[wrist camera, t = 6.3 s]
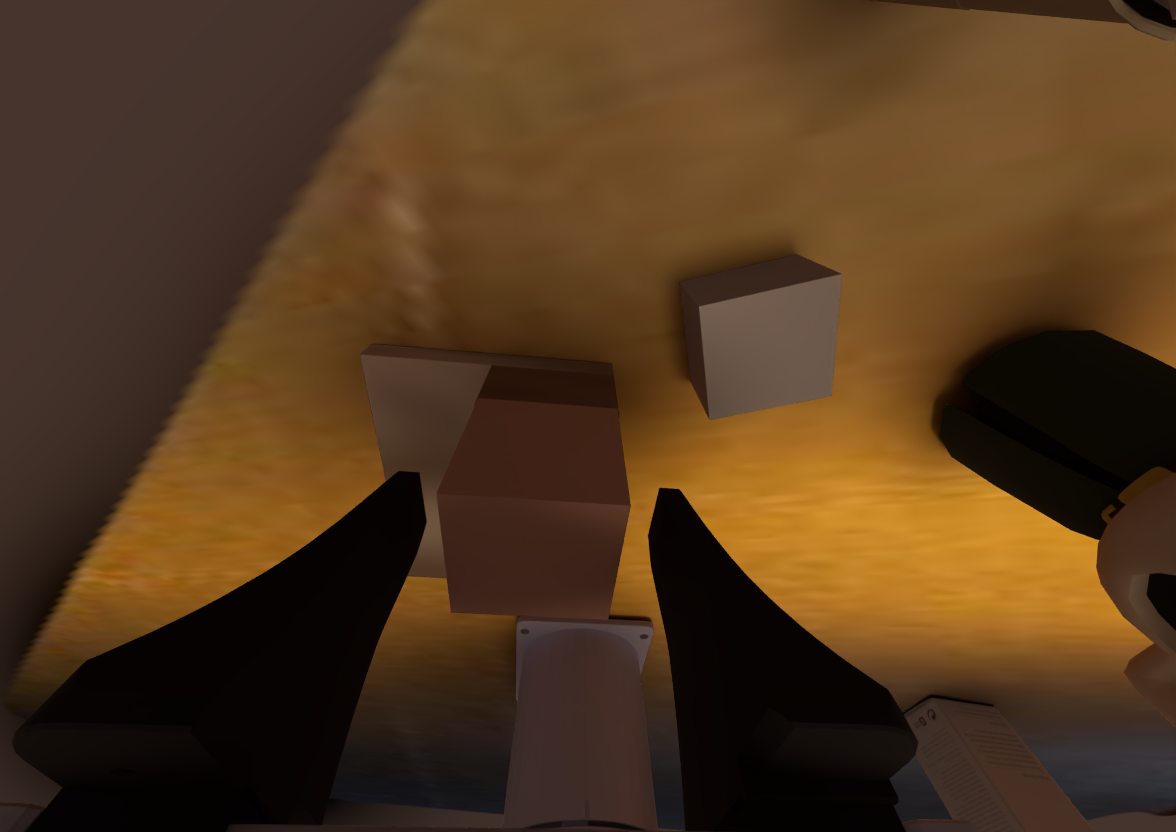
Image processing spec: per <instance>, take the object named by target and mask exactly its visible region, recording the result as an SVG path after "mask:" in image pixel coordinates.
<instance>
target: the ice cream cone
mask: <svg viewBox="0 0 1176 832" xmlns="http://www.w3.org/2000/svg"><path fill="white" fill-rule="evenodd" d="M871 1H878V2H889V3H899V4H910V5H920V6H931V7H941V8H952V9H963V10H970V9H975V10H986V11H997V12H1008V13H1019V14H1029V15H1040V16H1051V17H1062V18H1073V19H1084V20H1095V21H1106V22H1117V23H1128V24H1130V25H1131V26H1132V27H1133V28H1134V29H1136V30H1138V31H1141V32H1144V33H1146V34H1149V35H1152V36H1154V37H1157V38H1160V39H1162V40H1167V41H1176V0H871Z"/></svg>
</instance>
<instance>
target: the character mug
mask: <svg viewBox="0 0 1176 832" xmlns="http://www.w3.org/2000/svg"><path fill="white" fill-rule="evenodd" d="M962 384H963V385H965V386H967V387H968V388H970V389H972V390H973V391H975V392H977V393H978V394H980V395H982V396H983V397H985V398H986V399H985V400H984V401H983V402H981V403H980V406H979V408H978V411H977V413H976V416H975V418H973V417H971V416H970V415H968V414H966V413H964V412H963V411H961V410H959V409H957V408H955V407H954V406H952V405H950V404H948V405H947V406H946V407H945V409H944V410H943V413H942V420H941V428H940V435H939V437H940V438H941V440H942V442H943V443H944V445H945V447H946V448H947V450H948V452H949V453H950V455H951V457H953V458H954V459H956V460H957V461H959V462H960V463H962V464H963V465H965V466H966V467H968V468H969V469H971V470H972V471H974V472H975V473H977V474H978V475H980V476H981V477H983V478H984V479H986V480H987V481H989V482H990V483H992V484H993V485H995V486H997V487H998V488H1000V489H1002V490H1004V491H1005V492H1007V493H1009V494H1010V495H1012V496H1014V497H1015V498H1017V499H1019V500H1021V501H1022V502H1024V503H1026V504H1027V505H1029V506H1031V507H1033V508H1034V509H1036V510H1038V511H1039V512H1041V513H1043V514H1044V515H1046V516H1048V517H1049V518H1051V519H1053V520H1055V521H1056V522H1058V523H1060V524H1061V525H1063V526H1065V527H1066V528H1068V529H1070V530H1072V531H1075V532H1078V533H1080V534H1083V535H1086V536H1089V537H1091V538H1094V539H1097V540H1100V541H1099V543H1098V551H1097V565H1096V568H1097V572H1098V575H1099V579H1100V582H1101V585H1102V586H1103V588H1104V589H1105V591H1106V592H1107V594H1108V595H1109V597H1110V598H1111V600H1112V601H1113V603H1114V604H1115V605H1116V607H1117V608H1118V610H1119V611H1120V613H1121V614H1122V616H1123V617H1124V618H1125V619H1127V620H1128V621H1129V622H1130V623H1131V624H1132V625H1134V626H1135V627H1136V628H1137V629H1138V630H1140V631H1141V632H1142V633H1143V634H1144V635H1146V636H1147V637H1148V638H1149V639H1150V640H1151V641H1153V642H1154V644H1152V645H1151V646H1149V647H1148V648H1146V649H1145V650H1143V651H1142V652H1140V653H1139V654H1137V655H1136V656H1134V657H1133V658H1131V659H1130V660H1129V662H1128V664H1127V667H1126V669H1125V671H1124V673H1125V675H1126V676H1127V678H1128V679H1129V681H1130V682H1131V684H1132V685H1133V686H1134V688H1135V689H1136V690H1137V691H1138V692H1139V693H1140V694H1141V695H1142V696H1143V697H1144V698H1145V699H1146V700H1147V701H1148V702H1149V703H1150V704H1151V705H1152V706H1153V707H1155V708H1156V709H1157V710H1158V711H1159V712H1160V713H1161V714H1162V715H1163V716H1164V717H1165V718H1166V719H1167V720H1168V721H1169V722H1170V723H1171V724H1172V725H1173V726H1174V727H1175V728H1176V369H1175V368H1173V367H1171V366H1169V365H1167V364H1165V363H1163V362H1161V361H1159V360H1157V359H1155V358H1153V357H1151V356H1150V355H1148V354H1145V353H1143V352H1141V351H1139V350H1137V349H1134V348H1132V347H1130V346H1128V345H1126V344H1123V343H1121V342H1119V341H1117V340H1114V339H1112V338H1110V337H1108V336H1106V335H1103V334H1101V333H1099V332H1097V331H1094V330H1083V331H1045V332H1042V333H1040V334H1037V335H1035V336H1032V337H1030V338H1028V339H1025V340H1023V341H1020V342H1018V343H1015V344H1013V345H1010V346H1008V347H1005V348H1003V349H1001V350H1000V351H998V352H997V353H996V354H995V355H993V356H992V357H991V358H989V359H988V360H987V361H985V362H984V363H983V364H981V365H980V366H979V367H978V368H976V369H975V370H974V371H972V372H971V373H970V374H968V375H967V377H966V378H965V380H964V382H963V383H962Z"/></svg>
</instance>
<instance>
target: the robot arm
mask: <svg viewBox="0 0 1176 832" xmlns="http://www.w3.org/2000/svg"><path fill="white" fill-rule="evenodd" d="M426 524H427V519H426V512H425V506H424V499H423V492H422V485H421V479H420V472H409V471H398V472H397V473H395V474H394V475H393V476H392V477H391V478H389V479H388V480H387V481H386V482H385V483H383V484H382V485H381V486H380V487H379V488H378V489H376V490H375V491H374V492H373V493H372V494H371V495H369V496H368V497H367V498H366V499H365V500H363V501H362V502H361V503H360V504H359V505H357V506H356V507H355V508H354V509H353V510H351V511H350V512H349V513H348V514H346V515H345V516H344V517H343V518H342V519H340V520H339V521H338V522H336V523H335V524H334V525H333V526H331V527H330V528H329V529H327V530H326V531H325V532H323V533H322V534H321V535H319V536H318V537H317V538H315V539H314V540H313V541H311V542H310V543H309V544H307V545H306V546H304V547H303V548H301V549H300V550H298V551H297V552H296V553H294V554H293V555H291V556H290V557H288V558H286V559H285V560H283V561H282V562H280V563H279V564H277V565H276V566H274V567H272V568H271V569H269V570H268V571H266V572H264V573H263V574H261V575H259V576H258V577H256V578H254V579H252V580H251V581H249V582H247V583H245V584H244V585H242V586H240V587H238V588H237V589H235V590H233V591H231V592H230V593H228V594H226V595H224V596H223V597H221V598H219V599H217V600H215V601H213V602H211V603H209V604H208V605H206V606H204V607H202V608H200V609H198V610H196V611H194V612H192V613H190V614H188V615H186V616H184V617H182V618H180V619H178V620H176V621H174V622H172V623H170V624H168V625H165V626H163V627H161V628H159V629H157V630H155V631H153V632H151V633H148V634H146V635H144V636H142V637H139V638H137V639H135V640H133V641H130V642H128V643H126V644H123V645H121V646H119V647H117V648H114V649H112V650H110V651H108V652H105V653H103V654H101V655H98V656H96V657H94V658H91V659H89V660H87V661H86V662H85V663H84V664H82V665H81V666H80V667H79V668H78V669H77V670H76V671H75V672H74V673H73V674H72V675H71V676H70V677H69V678H68V679H67V680H66V681H65V682H64V683H63V684H62V685H61V686H60V687H59V688H58V689H57V691H56V692H55V693H54V694H53V695H52V696H51V697H50V698H49V699H48V700H47V701H46V702H45V703H44V704H43V705H42V706H41V707H40V708H39V709H38V710H37V711H36V712H35V713H34V714H33V715H32V716H31V717H30V718H29V719H28V720H27V721H26V722H25V723H24V724H23V725H22V726H21V727H20V728H19V729H18V730H17V731H16V732H15V734H14V736H13V738H12V745H13V748H14V750H15V752H16V753H17V754H18V755H19V756H20V757H21V758H22V759H23V760H25V761H26V762H27V763H29V764H30V765H31V766H33V767H34V768H36V769H37V770H39V771H40V772H42V773H43V774H44V775H46V776H47V777H49V778H50V779H52V780H53V781H54V782H56V783H58V784H59V785H60V786H62V787H63V788H62V789H61V791H60V792H59V793H58V794H57V795H56V797H55V798H54V799H53V800H52V801H51V803H50V804H49V805H48V806H47V807H46V808H45V807H42V806H38V805H34V804H27V803H5V802H0V832H977V830H976V828H975V827H974V825H973V824H972V823H970V822H968V821H966V820H912V821H908V822H904V823H901V821H900V819H899V817H898V815H897V812H896V810H895V808H894V806H893V805H896V804H897V803H898V796H897V794H896V792H895V790H894V788H893V786H892V784H891V782H890V780H889V778H891V777H892V776H893V775H894V774H895V773H896V772H898V771H899V770H900V769H901V768H902V767H904V766H905V765H906V764H907V763H908V762H909V761H910V760H911V759H912V758H913V757H914V756H915V754H916V751H917V747H918V743H919V742H918V740H917V738H916V736H915V734H914V733H913V731H912V729H911V727H910V725H909V724H908V722H907V720H906V718H905V716H904V715H903V713H902V711H901V709H900V708H899V706H898V705H897V703H896V701H895V700H894V698H893V697H892V695H891V694H890V692H889V691H888V689H886V688H885V687H883V686H882V685H880V684H879V683H877V682H876V681H874V680H873V679H872V678H870V677H869V676H867V675H866V674H864V673H863V672H861V671H860V670H858V669H857V668H856V667H854V666H853V665H851V664H850V663H848V662H847V661H845V660H844V659H843V658H841V657H840V656H839V655H837V654H836V653H835V652H833V651H832V650H831V649H829V648H828V647H827V646H825V645H824V644H823V643H822V642H820V641H819V640H818V639H816V638H815V637H814V636H813V635H811V634H810V633H809V632H808V631H806V630H805V629H804V628H803V627H802V626H800V625H799V624H798V623H797V622H796V621H795V620H793V619H792V618H791V617H790V616H789V615H788V614H787V613H785V612H784V611H783V610H782V609H781V608H780V607H779V606H778V605H776V604H775V603H774V602H773V601H772V600H771V599H770V598H769V597H768V596H767V595H766V594H765V593H764V592H763V591H762V590H761V589H760V588H759V587H758V586H757V585H756V584H755V583H754V582H753V581H752V580H751V579H750V578H749V577H748V576H747V575H746V574H745V573H744V572H743V571H742V569H741V568H740V567H739V566H738V565H737V564H736V563H735V561H734V560H733V559H732V558H731V557H730V556H729V554H728V553H727V552H726V551H725V550H724V548H723V547H722V546H721V545H720V543H719V542H718V541H717V540H716V538H715V537H714V536H713V535H712V533H711V532H710V531H709V529H708V528H707V527H706V525H705V524H704V523H703V521H702V520H701V519H700V517H699V516H698V514H697V513H696V512H695V510H694V509H693V507H692V506H691V505H690V503H689V502H688V500H687V499H686V498H685V496H684V495H683V493H682V492H681V491H680V490H679V489H670V488H659V492H658V496H657V500H656V504H655V509H654V513H653V517H652V521H651V525H650V529H649V534H648V539H649V551H650V561H651V569H652V573H653V578H654V583H655V588H656V592H657V597H658V601H659V606H660V611H661V615H662V620H663V624H664V629H665V634H666V638H667V644H668V650H669V656H670V664H671V673H672V681H673V690H674V699H675V708H676V718H677V728H678V739H679V750H680V761H681V773H682V787H683V801H684V815H685V831H658V827H657V818H656V809H655V800H654V791H653V783H652V774H651V765H650V756H649V747H648V738H647V729H646V720H645V711H644V702H643V694H642V685H641V672H642V669H643V666H644V662H645V659H646V656H647V652H648V649H649V646H650V642H651V639H652V636H653V633H654V628H653V624H652V623H651V622H649V621H637V620H616V619H608V620H602V619H580V618H559V617H537V616H520V617H519V618H518V619H517V625H516V701H517V710H516V718H515V726H514V735H513V743H512V751H511V760H510V768H509V776H508V785H507V793H506V801H505V810H504V819H503V826H502V828H465V827H462V828H461V827H404V826H403V827H402V826H401V827H400V826H399V827H397V826H341V825H322V822H323V819H324V815H325V812H326V808H327V804H328V800H329V797H330V794H331V790H332V786H333V783H334V779H335V776H336V772H337V768H338V765H339V761H340V758H341V755H342V751H343V748H344V745H345V741H346V738H347V735H348V731H349V728H350V725H351V721H352V718H353V715H354V712H355V709H356V706H357V703H358V699H359V696H360V693H361V690H362V687H363V684H364V681H365V678H366V675H367V672H368V669H369V666H370V663H371V660H372V658H373V655H374V652H375V649H376V646H377V643H378V640H379V638H380V636H381V633H382V631H383V628H384V626H385V624H386V621H387V619H388V617H389V615H390V613H391V610H392V608H393V606H394V604H395V602H396V600H397V597H398V595H399V593H400V591H401V589H402V586H403V584H404V582H405V580H406V578H407V575H408V573H409V571H410V569H411V567H412V564H413V562H414V560H415V558H416V555H417V553H418V550H419V547H420V543H421V540H422V537H423V534H424V530H425V527H426Z"/></svg>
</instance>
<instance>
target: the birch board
mask: <svg viewBox="0 0 1176 832" xmlns="http://www.w3.org/2000/svg"><path fill="white" fill-rule="evenodd" d="M360 357H361V362H362V367H363V372H364V376H365V381H366V386H367V391H368V396H369V401H370V406H371V411H372V416H373V420H374V425H375V430H376V435H377V440H378V445H379V450H380V455H381V459H382V464H383V469H384V474H385V479H386V481H387V480H388V479H389V478H391V477H392V476H393V475H394V474H395V473H397V472H398V471H409V472H420V479H421V485H422V492H423V499H424V506H425V512H426V519H427V524H426V527H425V530H424V534H423V537H422V540H421V543H420V547H419V550H418V553H417V555H416V558H415V560H414V562H413V564H412V567H411V569H410V571H409V573H408V575H407V576H414V577H434V578H447V575H446V567H445V559H444V552H443V544H442V536H441V528H440V520H439V512H438V504H437V496H436V493H437V491H438V488H439V486H440V484H441V482H442V479H443V477H444V475H445V472H446V470H447V468H448V466H449V463H450V461H451V459H452V456H453V454H454V452H455V450H456V447H457V445H458V443H459V440H460V438H461V436H462V434H463V431H464V429H465V427H466V424H467V422H468V420H469V418H470V415H471V413H472V411H473V409H474V406H475V402H476V400H477V397H478V395H479V393H480V390H481V388H482V386H483V384H484V381H485V379H486V377H487V375H488V372H489V370H490V368H491V366H492V365H496V366H508V367H520V368H533V369H545V370H558V371H570V372H583V373H595V374H608V375H613V369H612V364H611V363H599V362H586V361H574V360H562V359H550V358H538V357H525V356H513V355H501V354H489V353H477V352H464V351H452V350H440V349H428V348H416V347H403V346H391V345H379V344H372V345H370V346H369V347H368V348H367V349H366V350H365V351H364V352H362V353H361V354H360Z"/></svg>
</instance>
